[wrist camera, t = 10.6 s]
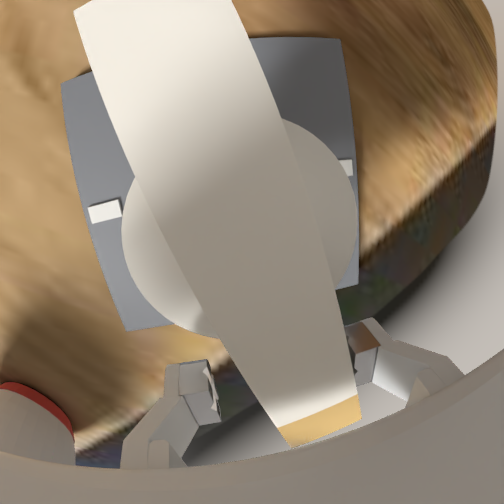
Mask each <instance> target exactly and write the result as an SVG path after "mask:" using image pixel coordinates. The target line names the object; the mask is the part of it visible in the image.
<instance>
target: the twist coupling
mask: <svg viewBox="0 0 504 504" xmlns="http://www.w3.org/2000/svg"><path fill="white" fill-rule="evenodd" d="M73 12H74V16H75V19H76V23H77V26H78V29H79V32H80V36H81V39H82V42H83V45H84V48H85V51H86V54H87V57H88V60H89V63H90V66H91V69H92V71H93V74H94V77H95V80H96V83H97V85H98V88H99V91H100V93H101V96H102V99H103V101H104V104H105V106H106V109H107V112H108V114H109V117H110V119H111V122H112V124H113V126H114V129H115V131H116V134H117V136H118V139H119V141H120V143H121V146H122V148H123V150H124V153H125V155H126V157H127V160H128V162H129V164H130V166H131V169H132V171H133V173H134V175H135V178H134V180H133V182H132V185H131V187H130V190H129V192H128V195H127V197H126V201H125V206H124V210H123V216H122V227H121V233H122V246H123V251H124V256H125V260H126V263H127V266H128V269H129V272H130V274H131V276H132V278H133V280H134V282H135V284H136V286H137V288H138V289H139V290H140V292H141V293H142V295H143V296H144V297H145V299H146V300H147V301H148V302H149V303H150V304H151V305H152V306H153V307H154V308H155V309H156V310H157V311H158V312H159V313H160V314H162V315H163V316H164V317H165V318H167V319H168V320H170V321H171V322H173V323H175V324H176V325H178V326H180V327H182V328H184V329H186V330H188V331H191V332H194V333H197V334H200V335H203V336H208V337H212V338H218V339H220V340H221V342H222V343H223V345H224V347H225V348H226V350H227V351H228V353H229V355H230V356H231V358H232V360H233V361H234V363H235V365H236V366H237V368H238V369H239V371H240V373H241V374H242V376H243V377H244V379H245V380H246V382H247V384H248V385H249V387H250V388H251V390H252V391H253V393H254V394H255V396H256V397H257V399H258V400H259V402H260V404H261V405H262V406H263V408H264V409H265V411H266V413H267V414H268V415H269V417H270V418H271V420H272V421H273V423H274V424H275V426H276V427H277V429H278V430H279V431H280V433H281V434H282V436H283V437H284V439H285V440H286V441H287V443H288V444H289V446H290V447H291V448H294V447H297V446H300V445H302V444H305V443H308V442H310V441H313V440H315V439H318V438H320V437H323V436H325V435H327V434H330V433H332V432H334V431H337V430H339V429H341V428H343V427H345V426H348V425H350V424H352V423H354V422H356V421H358V420H360V419H362V417H361V411H360V405H359V399H358V394H357V388H356V383H355V378H354V373H353V368H352V363H351V358H350V353H349V348H348V344H347V339H346V335H345V330H344V326H343V322H342V317H341V313H340V309H339V305H338V301H337V297H336V293H335V288H336V287H337V285H338V284H339V282H340V280H341V279H342V277H343V275H344V273H345V271H346V269H347V267H348V265H349V263H350V260H351V257H352V254H353V251H354V246H355V242H356V236H357V225H358V221H357V207H356V201H355V195H354V192H353V189H352V186H351V183H350V180H349V178H348V176H347V174H346V172H345V170H344V168H343V167H342V165H341V164H340V162H339V161H338V159H337V158H336V156H335V155H334V154H333V153H332V151H331V150H330V149H329V148H328V147H327V146H326V145H325V144H324V143H323V142H322V141H321V140H319V139H318V138H317V137H316V136H315V135H313V134H312V133H310V132H309V131H307V130H305V129H304V128H302V127H301V126H299V125H297V124H294V123H292V122H290V121H287V120H285V119H282V118H281V116H280V113H279V111H278V108H277V105H276V103H275V100H274V98H273V95H272V93H271V90H270V88H269V85H268V83H267V80H266V78H265V75H264V73H263V70H262V68H261V65H260V63H259V61H258V58H257V56H256V54H255V51H254V49H253V47H252V44H251V42H250V40H249V38H248V35H247V33H246V31H245V29H244V26H243V24H242V22H241V20H240V18H239V16H238V13H237V11H236V9H235V7H234V5H233V3H232V1H231V0H92V1H90V2H88V3H86V4H85V5H83V6H81V7H79V8H78V9H76V10H74V11H73Z"/></svg>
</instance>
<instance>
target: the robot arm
mask: <svg viewBox="0 0 504 504" xmlns="http://www.w3.org/2000/svg"><path fill="white" fill-rule="evenodd" d="M344 330H345V335H346V339H347V344H348V348H349V353H350V358H351V363H352V368H353V373H354V378H355V383H356V387H357V386H360V385H363V384H365V383H369V382H371V381H372V382H373V383H374V384H376V385H378V386H380V387H381V388H383V389H385V390H387V391H388V392H390V393H392V394H394V395H396V396H398V397H399V398H401V399H403V400H405V401H407V404H406V407H405V408H404V409H402V410H400V411H398V412H396V413H394V414H391V415H389V416H387V417H385V418H382V419H380V420H378V421H375V422H373V423H370V424H368V425H366V426H363V427H360V428H358V429H355V430H352V431H349V432H347V433H344V434H341V435H338V436H335V437H332V438H330V439H326V440H323V441H320V442H316V443H313V444H310V445H306V446H303V447H300V448H295V449H291V450H288V451H284V452H279V453H275V454H271V455H266V456H261V457H256V458H251V459H246V460H240V461H235V462H228V463H221V464H214V465H205V466H197V467H187V466H186V464H185V463H184V462H183V461H182V459H181V457H182V456H183V454H184V452H185V450H186V449H187V447H188V445H189V443H190V442H191V440H192V438H193V436H194V434H195V433H196V431H197V429H198V427H199V426H198V425H205V424H210V423H216V422H221V415H220V407H219V405H218V402H217V400H218V391H217V386H216V382H215V379H214V376H213V374H211V369H210V364H209V362H208V360H207V359H204V360H198V361H191V362H184V363H178V364H170V365H167V366H166V370H165V382H164V396H163V398H159V400H158V401H157V402H156V403H155V404H154V405H153V407H152V408H151V409H150V410H149V411H148V413H147V414H146V415H145V416H144V417H143V418H142V420H141V421H140V422H139V423H138V424H137V425H136V427H135V428H134V429H133V430H132V431H131V432H130V433H129V435H128V436H127V437H126V438H125V439H124V440H123V447H122V456H121V464H120V469H108V468H93V467H82V466H73V465H66V464H59V463H52V462H46V461H41V460H36V459H31V458H26V457H22V456H17V455H14V454H10V453H6V452H1V451H0V504H504V349H503V350H501V351H500V352H499V353H497V354H496V355H494V356H493V357H492V358H490V359H489V360H487V361H486V362H485V363H483V364H482V365H480V366H479V367H477V368H476V369H474V370H472V371H471V372H469V373H468V374H466V375H464V374H463V373H462V372H461V371H460V370H459V369H458V367H457V366H456V365H455V364H454V363H453V362H452V361H451V360H450V359H449V358H448V357H447V356H444V355H441V354H438V353H435V352H431V351H428V350H425V349H422V348H419V347H416V346H413V345H410V344H407V343H404V342H401V341H398V340H396V341H393V340H392V339H391V337H390V336H389V335H388V334H387V333H386V332H385V331H384V330H383V328H382V327H381V326H380V325H379V324H378V323H377V321H376V320H375V319H374V318H372V317H371V318H368V319H365V320H362V321H360V322H357V323H353V324H350V325H347V326H344Z"/></svg>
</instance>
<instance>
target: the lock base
mask: <svg viewBox="0 0 504 504" xmlns="http://www.w3.org/2000/svg"><path fill="white" fill-rule="evenodd" d="M249 40H250V42H251V44H252V47H253V49H254V51H255V54H256V56H257V58H258V61H259V63H260V65H261V68H262V70H263V73H264V75H265V78H266V80H267V83H268V85H269V88H270V90H271V93H272V95H273V98H274V100H275V103H276V105H277V108H278V111H279V113H280V116H281V118H282V119H285V120H287V121H290V122H292V123H294V124H297V125H299V126H301V127H302V128H304V129H305V130H307V131H309V132H310V133H312V134H313V135H315V136H316V137H317V138H318V139H319V140H321V141H322V142H323V143H324V144H325V145H326V146H327V147H328V148H329V149H330V150H331V151H332V153H333V154H334V155H335V156H336V158H337V159H338V161H339V162H340V164H341V165H342V167H343V168H344V170H345V172H346V174H347V176H348V178H349V180H350V183H351V186H352V189H353V192H354V195H355V201H356V207H357V221H358V225H357V236H356V242H355V246H354V251H353V254H352V257H351V260H350V263H349V265H348V267H347V269H346V271H345V273H344V275H343V277H342V279H341V280H340V282H339V284H338V285H337V287H336V288H335V290H336V289H340V288H344V287H348V286H352V285H356V284H358V271H359V207H358V182H357V165H356V151H355V139H354V129H353V119H352V111H351V103H350V95H349V88H348V81H347V74H346V68H345V62H344V57H343V51H342V46H341V41H340V39H334V38H316V37H270V38H251V39H249ZM61 93H62V102H63V110H64V118H65V125H66V132H67V138H68V144H69V149H70V155H71V160H72V165H73V169H74V174H75V179H76V183H77V187H78V191H79V195H80V199H81V203H82V207H83V211H84V215H85V218H86V222H87V225H88V229H89V232H90V235H91V239H92V242H93V245H94V248H95V251H96V254H97V257H98V260H99V263H100V266H101V269H102V272H103V274H104V277H105V280H106V283H107V285H108V288H109V291H110V293H111V296H112V298H113V301H114V303H115V306H116V308H117V311H118V313H119V316H120V318H121V320H122V323H123V325H124V327H125V329H126V332H127V331H133V330H140V329H146V328H153V327H159V326H165V325H171V324H175V323H173V322H171V321H170V320H168V319H167V318H165V317H164V316H163V315H162V314H160V313H159V312H158V311H157V310H156V309H155V308H154V307H153V306H152V305H151V304H150V303H149V302H148V301H147V300H146V299H145V297H144V296H143V295H142V293H141V292H140V290H139V289H138V288H137V286H136V284H135V282H134V280H133V278H132V276H131V274H130V272H129V269H128V266H127V263H126V260H125V256H124V251H123V246H122V233H121V227H122V216H123V210H124V206H125V201H126V197H127V195H128V192H129V190H130V187H131V185H132V182H133V180H134V178H135V175H134V173H133V171H132V169H131V166H130V164H129V162H128V160H127V157H126V155H125V153H124V150H123V148H122V146H121V143H120V141H119V139H118V136H117V134H116V131H115V129H114V126H113V124H112V122H111V119H110V117H109V114H108V112H107V109H106V106H105V104H104V101H103V99H102V96H101V93H100V91H99V88H98V85H97V83H96V80H95V77H94V74H93V71H92V72H89V73H86V74H84V75H81V76H78V77H76V78H73V79H71V80H68V81H66V82H63V83H61Z"/></svg>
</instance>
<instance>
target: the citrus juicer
mask: <svg viewBox="0 0 504 504" xmlns="http://www.w3.org/2000/svg"><path fill="white" fill-rule="evenodd" d="M74 442H75V441H74V435H73V430H72V426H71V423H70V421H69V419H68V417H67V416H66V415H65V413H64V412H63V411H62V410H61V409H60V408H59V407H58V406H57V405H55V404H54V403H53V402H52V401H51V400H49V399H48V398H46V397H45V396H44V395H42V394H40V393H39V392H37V391H35V390H33V389H31V388H29V387H27V386H25V385H22V384H20V383H15V382H6V383H3V384H2V385H0V451H1V452H6V453H10V454H14V455H17V456H22V457H26V458H31V459H36V460H41V461H46V462H52V463H59V464H66V465H73V466H75V448H74Z"/></svg>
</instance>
